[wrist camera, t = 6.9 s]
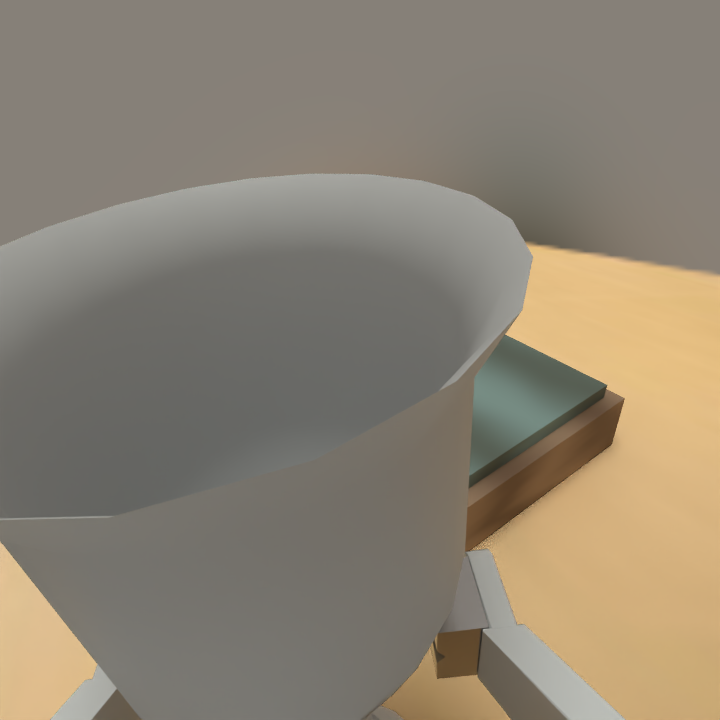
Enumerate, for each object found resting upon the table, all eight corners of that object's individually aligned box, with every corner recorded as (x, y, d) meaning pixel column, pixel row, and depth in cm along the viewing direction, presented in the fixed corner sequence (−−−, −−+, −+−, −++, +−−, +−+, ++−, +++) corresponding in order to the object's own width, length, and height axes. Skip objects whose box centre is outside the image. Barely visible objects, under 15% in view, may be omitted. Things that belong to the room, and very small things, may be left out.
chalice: (293, 653, 19) (140, 179, 9) (470, 687, 18) (516, 166, 8) (207, 932, 13) (-465, 462, 3) (461, 1018, 12) (601, 632, 2)
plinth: (439, 343, 37) (439, 295, 35) (611, 443, 27) (627, 386, 25) (243, 436, 30) (228, 384, 28) (379, 617, 20) (373, 559, 18)
